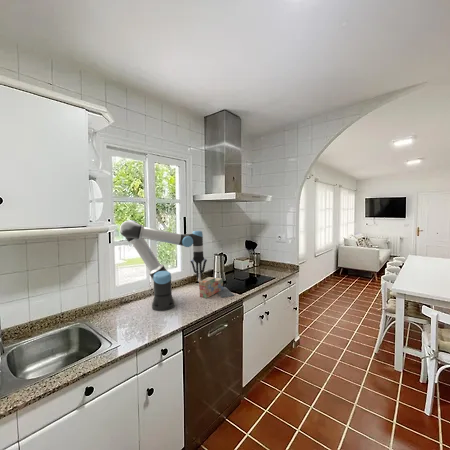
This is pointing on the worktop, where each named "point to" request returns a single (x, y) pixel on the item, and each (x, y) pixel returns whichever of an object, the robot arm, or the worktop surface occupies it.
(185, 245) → the robot arm
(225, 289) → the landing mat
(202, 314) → the worktop surface
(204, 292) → the stack of blocks
